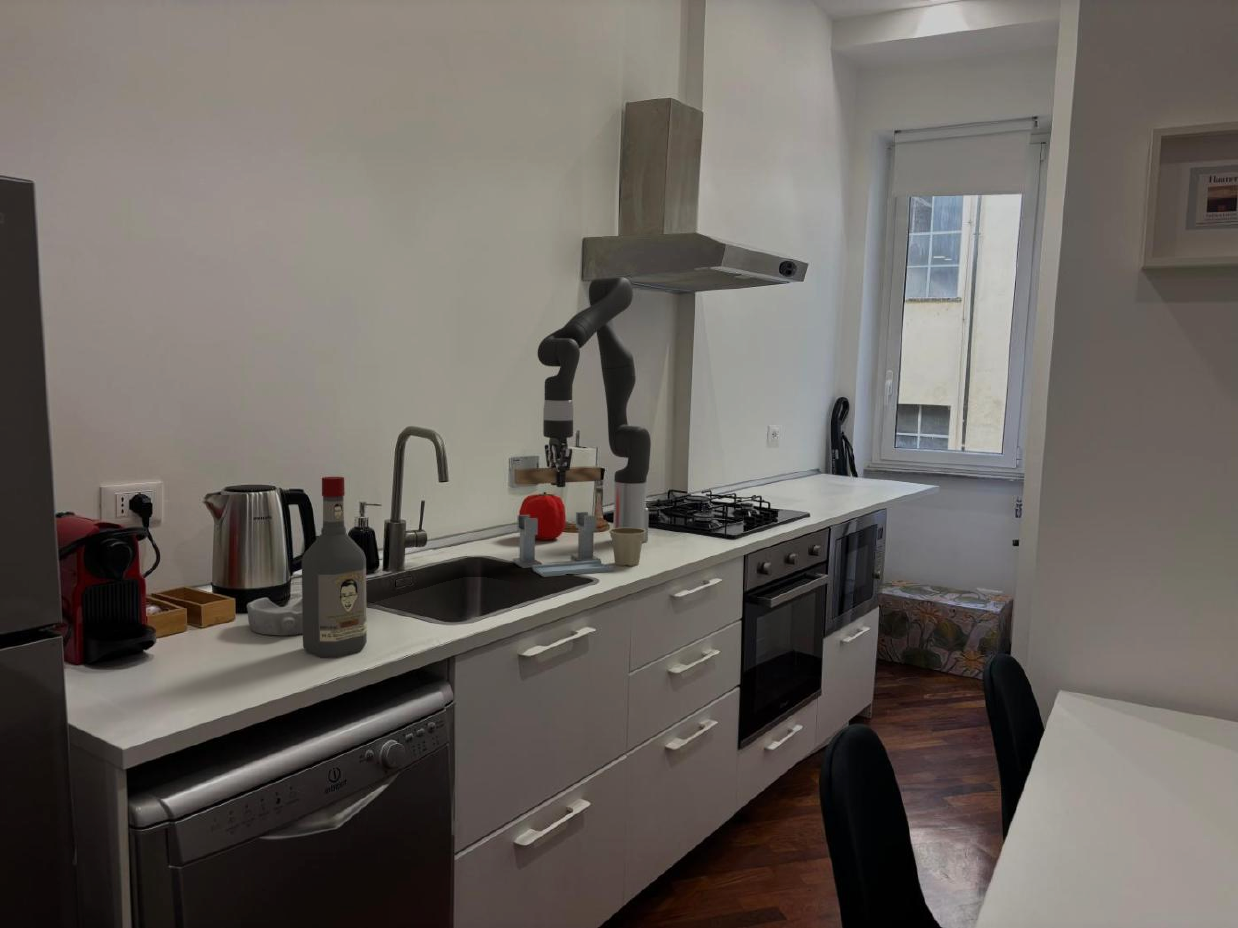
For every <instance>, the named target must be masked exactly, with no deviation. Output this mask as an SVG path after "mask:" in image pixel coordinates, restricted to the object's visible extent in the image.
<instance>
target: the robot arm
mask: <svg viewBox="0 0 1238 928" xmlns="http://www.w3.org/2000/svg"><path fill="white" fill-rule="evenodd" d="M633 292H634V291H633V287H632V284H631V283H630V281H629V279H627V278H625V277H622V276H614V277H612V276H611V277H602V278H595V279H592V281H591V282H590V283H589V287H588V299H589V306H588V307H587V308H585V309H583V310H581V311H579V312H578V313H576V314H575V315H574V316H572V317H571V318H570V319H569V320H568V321H567V322H566V324H565V325H563V327H561V328H559V329H557V330H555V331H554V332H552V333H550V334H549V335H547V336H546V337H544V338H543V339H542V340H541V341H540V343H539V345H538V348H537V351H536V352H537V353H536V354H537V357H538V358H537V359H538V361H539V362H540V364H542V365H544V366H545V367H555V368H556V367H559V370H558V372H557V373H556V374H555V375H552V376H549V377H547V378H546V379H545V380H544V402H543V411H542V412H543V413H542V414H543V415H542V416H543V417H542V418H543V419H542V420H543V423H542V425H543V429H542V432H543V435H542V436H544V438H549V440H548V444H544V453H545V461H546V468H555V467H556V472H557V473H556V483H550V485H551V486H556V487H557V488H565V487H566V483H565V478H566V473H565V472H567V470H569V469H570V467H571V461H572V456H573V448H569V445H568V438H569V439H570V438H572V437H574V404H573V384H574V380H575V375H576V371H577V368H578V364H579V362H580V356H581V355H580V354H581V352H580V351H581V350H580V349H582V348H583V347H584V346H585V344H587V342H589V340H590V339H591V338H592V337H593V336H594V335H595V334H596V337H597V338H596V339H597V344H598V349H599V357H600V365H601V374H602V380H603V386H604V393H605V401H606V411H607V415H606V416H607V435H608V444H609V449H610V452H611V453H612V454H613V455H614V456H616V457H619V458H625V459H627V463H626V465H625V466H624V468H622V469H618V470H617V471H615V472H614V479H613V480H614V484H613V485H614V487H613V488H614V489H613V528H639V529H644V530H645V531H646V532H645V533H644V538H643V540H642V543H644V542H648V541H649V511H650V510H649V508H648V507H647V477H648V475H649V471H650V470H649V469H650V462H651V461H650V458H651V444H652V443H651V442H652V441H651V435H650V433H649V431H648V429H647V428H645V427H643V426H637V425H635V426H634V425H629V424H628V417H627V416H628V415H627V407H628V402H629V400H630V398H631V395H632V393H633V391H634V387H635V384H636V378H637V376H636V368H635V361H634V357H633V354H632V352H631V350H630V349H629V347H628V346H627V344H626V343H625V341H624V340H623V339H622V338H621V336H620V335H619V334H618V332H617V330H616V328H615V326H614V323H613V319H614V318H615V317H617V316H618V315H619V314H621V313H622V312H624V311H626V309H628V308H629V307H630V305H631V303H632V301H633V297H634V293H633Z"/></svg>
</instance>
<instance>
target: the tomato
mask: <svg viewBox="0 0 1238 928" xmlns="http://www.w3.org/2000/svg"><path fill="white" fill-rule="evenodd" d="M518 515H530V518H537V519H538V528H537V531H538V535H535V540H540V541H541V540H543V541H545V540H555V539H558V538H559V537H560V536H561V535H562V534H563V532H564V530H565V527H566V521H567V520H566V519H567V518H566V517H567V516H566V507H565V504H564V502H563V500H562V499H561V497H559V496H557V495H556V494H555V493H553V494H552V493H547V492H546V491H543V492H542V493H537V494H530V495H528V496H526V497H525V498H523V500H522V503H521V506H520V508H519V513H518Z"/></svg>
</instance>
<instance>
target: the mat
mask: <svg viewBox="0 0 1238 928" xmlns="http://www.w3.org/2000/svg"><path fill="white" fill-rule="evenodd" d="M532 571H533V572H534V573H537V574H538V575H540V576H541V577H543V578H548V577H549V578H551V577H559V576H560V577H561V576H567V575H566V574H574V575H585V574H595V573H598V574H599V573H607V572H609V573H610V572H613V571H614V566H613V565H609V566H608V565H606V564H604V563H602V559H601V560H595V561H582V562H579V561H574V562H573V561H572V562H571V561H570V562H560V563H559V562H557V563H544V564H542V565H533V567H532Z"/></svg>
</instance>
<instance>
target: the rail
mask: <svg viewBox="0 0 1238 928" xmlns="http://www.w3.org/2000/svg"><path fill="white" fill-rule="evenodd" d="M601 469H602V468H601V466H596V465H587V466H586V465H584V466H581V465H580V466H570V469H569V470H567V472H565V473H566V478H565V484H567V483H585V482H586V483H587V482H601V477H602V476H601V475H602V474H601V473H602V472H601ZM513 470H514V471H513V472H514V475H513V478H514V481H513V482H514V484H516V485H519V486H520V485H523V486H524V485H538V484H539V485H541V484H551V483H556V473H557V472H556V467H555V468H549V467H533V468H531V467H530V468H514V469H513Z"/></svg>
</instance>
